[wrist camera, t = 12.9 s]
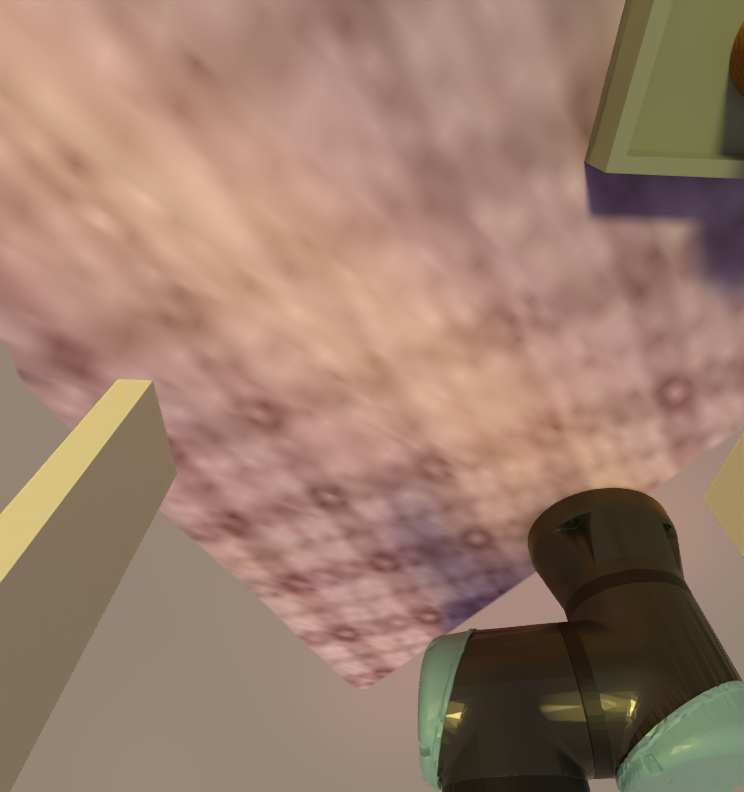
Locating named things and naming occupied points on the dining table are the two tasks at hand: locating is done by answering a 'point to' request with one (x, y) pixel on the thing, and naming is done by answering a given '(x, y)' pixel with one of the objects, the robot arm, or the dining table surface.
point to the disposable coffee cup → (738, 61)
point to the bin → (672, 92)
